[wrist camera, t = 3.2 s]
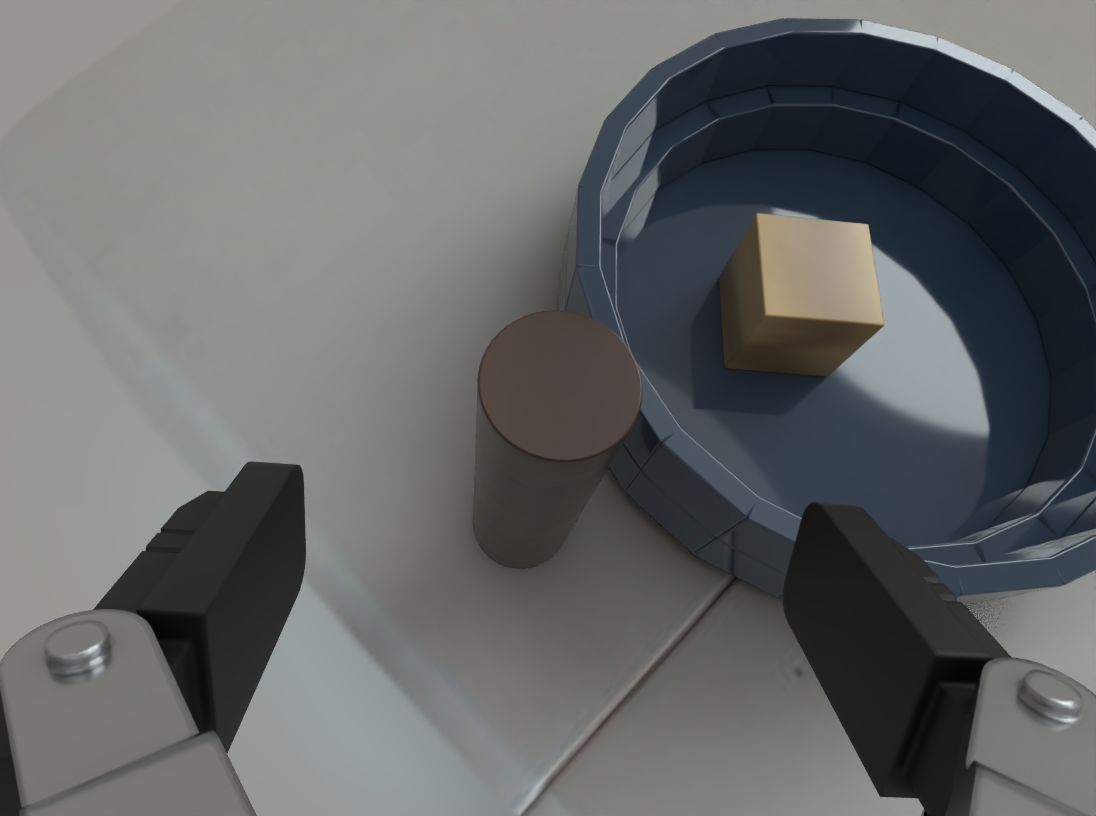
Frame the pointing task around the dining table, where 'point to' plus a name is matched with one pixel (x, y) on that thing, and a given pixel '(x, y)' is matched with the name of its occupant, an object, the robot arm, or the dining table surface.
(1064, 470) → the bowl
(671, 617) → the dining table surface
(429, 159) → the dining table surface
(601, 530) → the dining table surface
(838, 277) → the block
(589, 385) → the brown cylinder
